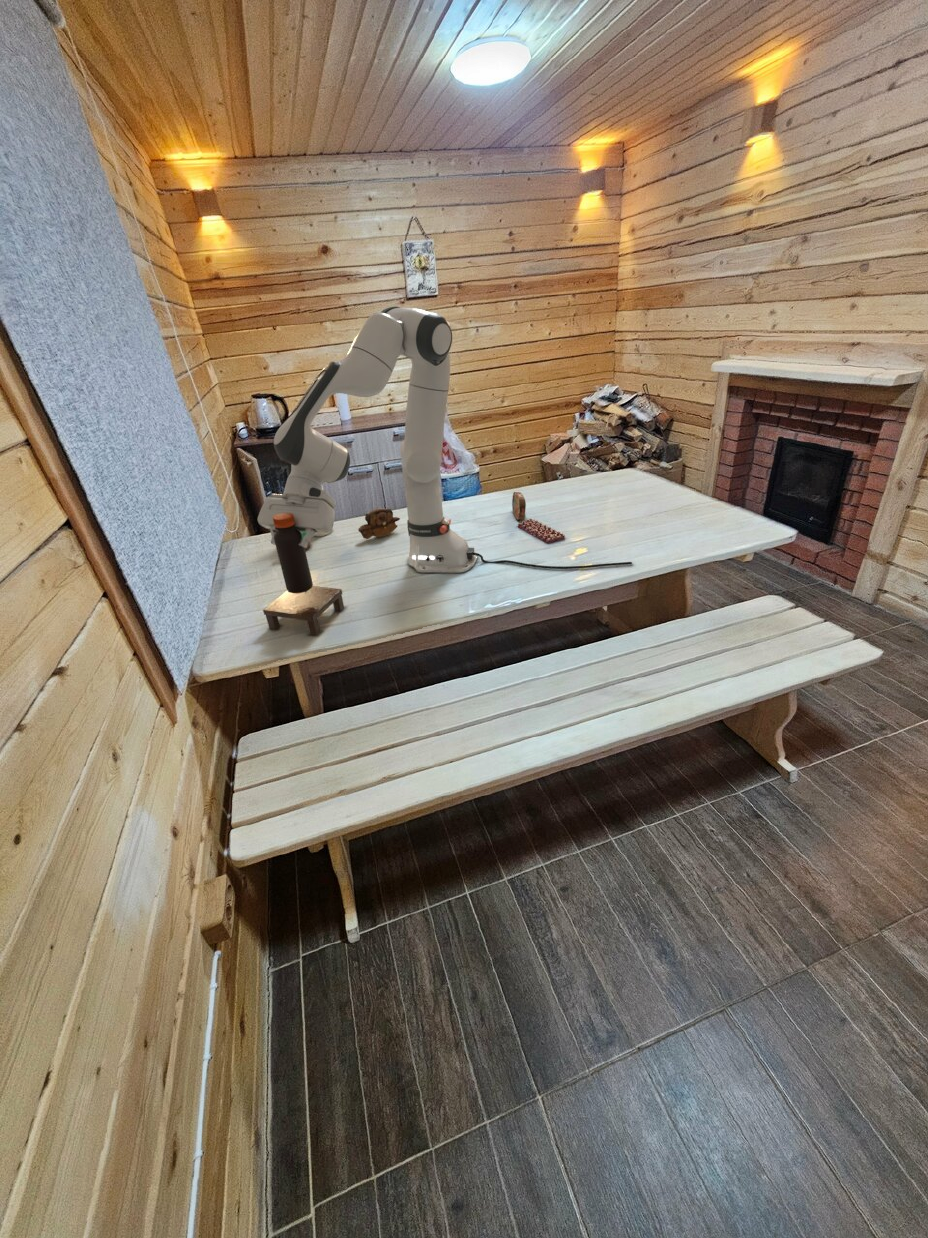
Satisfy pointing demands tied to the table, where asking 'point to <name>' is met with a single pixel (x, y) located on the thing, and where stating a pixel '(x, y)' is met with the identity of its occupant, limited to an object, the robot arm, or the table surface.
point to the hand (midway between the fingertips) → (288, 545)
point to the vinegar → (291, 554)
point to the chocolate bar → (541, 531)
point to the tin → (518, 505)
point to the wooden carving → (378, 523)
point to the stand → (304, 606)
